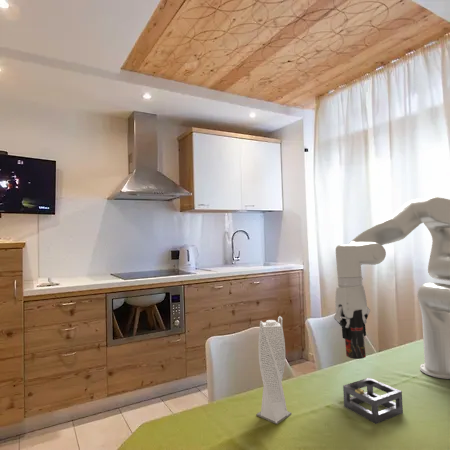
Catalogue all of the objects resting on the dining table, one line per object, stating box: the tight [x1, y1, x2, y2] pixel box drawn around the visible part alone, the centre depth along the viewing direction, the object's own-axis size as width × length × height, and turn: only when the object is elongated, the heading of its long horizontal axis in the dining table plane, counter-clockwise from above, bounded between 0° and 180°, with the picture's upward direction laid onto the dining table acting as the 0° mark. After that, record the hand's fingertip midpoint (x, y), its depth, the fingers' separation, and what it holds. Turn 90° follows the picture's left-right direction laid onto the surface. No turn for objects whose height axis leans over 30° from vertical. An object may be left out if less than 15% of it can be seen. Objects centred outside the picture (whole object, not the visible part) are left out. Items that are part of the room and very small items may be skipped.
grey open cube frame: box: [342, 377, 404, 425], centre depth 97 cm, size 11×11×7 cm
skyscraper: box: [256, 315, 292, 425], centre depth 95 cm, size 8×8×28 cm
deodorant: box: [344, 310, 367, 360], centre depth 111 cm, size 6×6×15 cm
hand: (354, 336), depth 111 cm, fingers closed on deodorant, 5 cm apart
